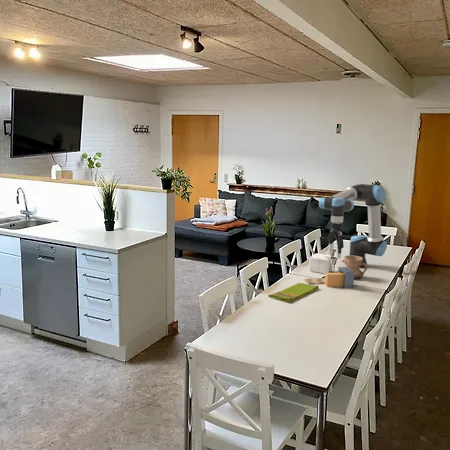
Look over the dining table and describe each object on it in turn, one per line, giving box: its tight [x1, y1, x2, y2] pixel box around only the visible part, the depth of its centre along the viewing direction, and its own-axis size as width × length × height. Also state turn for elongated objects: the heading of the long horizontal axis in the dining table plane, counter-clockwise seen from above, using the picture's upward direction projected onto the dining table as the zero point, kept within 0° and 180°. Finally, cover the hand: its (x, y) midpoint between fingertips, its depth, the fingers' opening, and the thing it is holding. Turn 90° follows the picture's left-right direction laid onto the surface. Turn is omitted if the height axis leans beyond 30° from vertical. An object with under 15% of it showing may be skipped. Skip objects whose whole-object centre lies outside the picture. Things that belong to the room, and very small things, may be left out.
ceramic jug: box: [340, 254, 368, 280], centre depth 320 cm, size 18×14×14 cm
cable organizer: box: [308, 253, 332, 275], centre depth 332 cm, size 15×11×12 cm
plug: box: [324, 272, 354, 287], centre depth 301 cm, size 18×4×8 cm, turn 98°
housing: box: [337, 266, 355, 289], centre depth 301 cm, size 6×10×12 cm, turn 12°
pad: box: [303, 277, 325, 285], centre depth 309 cm, size 20×10×1 cm, turn 102°
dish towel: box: [268, 282, 320, 304], centre depth 284 cm, size 15×36×3 cm, turn 140°
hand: (334, 255), depth 297 cm, fingers open, 11 cm apart
